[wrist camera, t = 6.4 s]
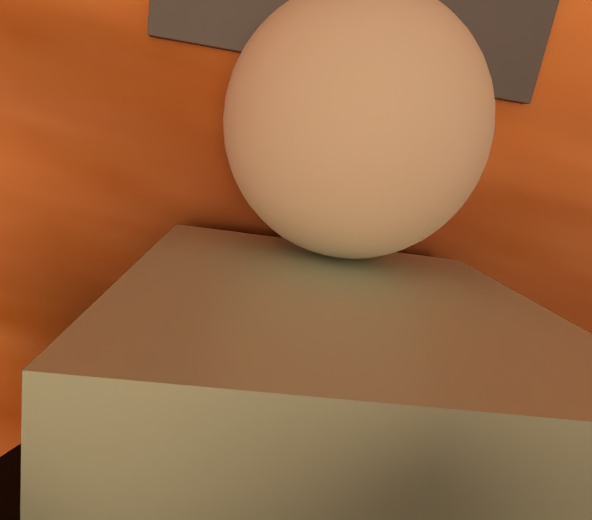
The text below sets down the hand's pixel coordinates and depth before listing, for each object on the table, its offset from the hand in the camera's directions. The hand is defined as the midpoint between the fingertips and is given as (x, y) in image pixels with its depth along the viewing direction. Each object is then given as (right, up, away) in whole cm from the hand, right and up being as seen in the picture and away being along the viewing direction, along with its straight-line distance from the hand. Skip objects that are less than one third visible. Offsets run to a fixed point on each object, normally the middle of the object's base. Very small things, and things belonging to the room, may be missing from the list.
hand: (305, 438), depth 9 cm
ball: (+1, +6, -1) cm, 6 cm away
